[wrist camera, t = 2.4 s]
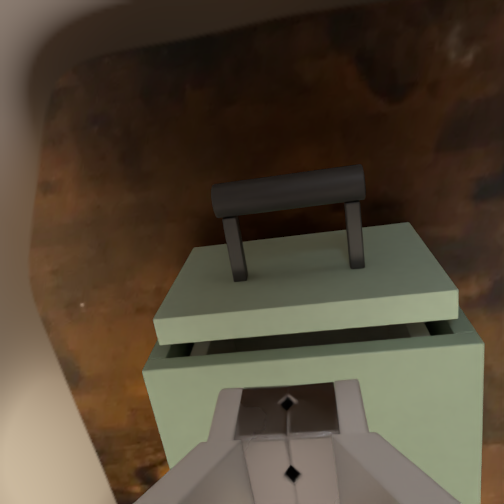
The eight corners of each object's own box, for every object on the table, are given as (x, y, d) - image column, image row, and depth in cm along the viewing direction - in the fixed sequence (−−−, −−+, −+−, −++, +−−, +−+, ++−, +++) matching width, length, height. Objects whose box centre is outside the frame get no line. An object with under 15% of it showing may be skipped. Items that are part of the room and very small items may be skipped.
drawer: (176, 169, 24) (124, 214, 16) (406, 136, 22) (459, 170, 15) (235, 440, 30) (215, 558, 23) (417, 430, 28) (458, 553, 21)
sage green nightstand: (192, 270, 27) (140, 371, 18) (418, 245, 25) (485, 343, 16) (235, 463, 32) (211, 615, 23) (424, 453, 30) (478, 614, 21)
